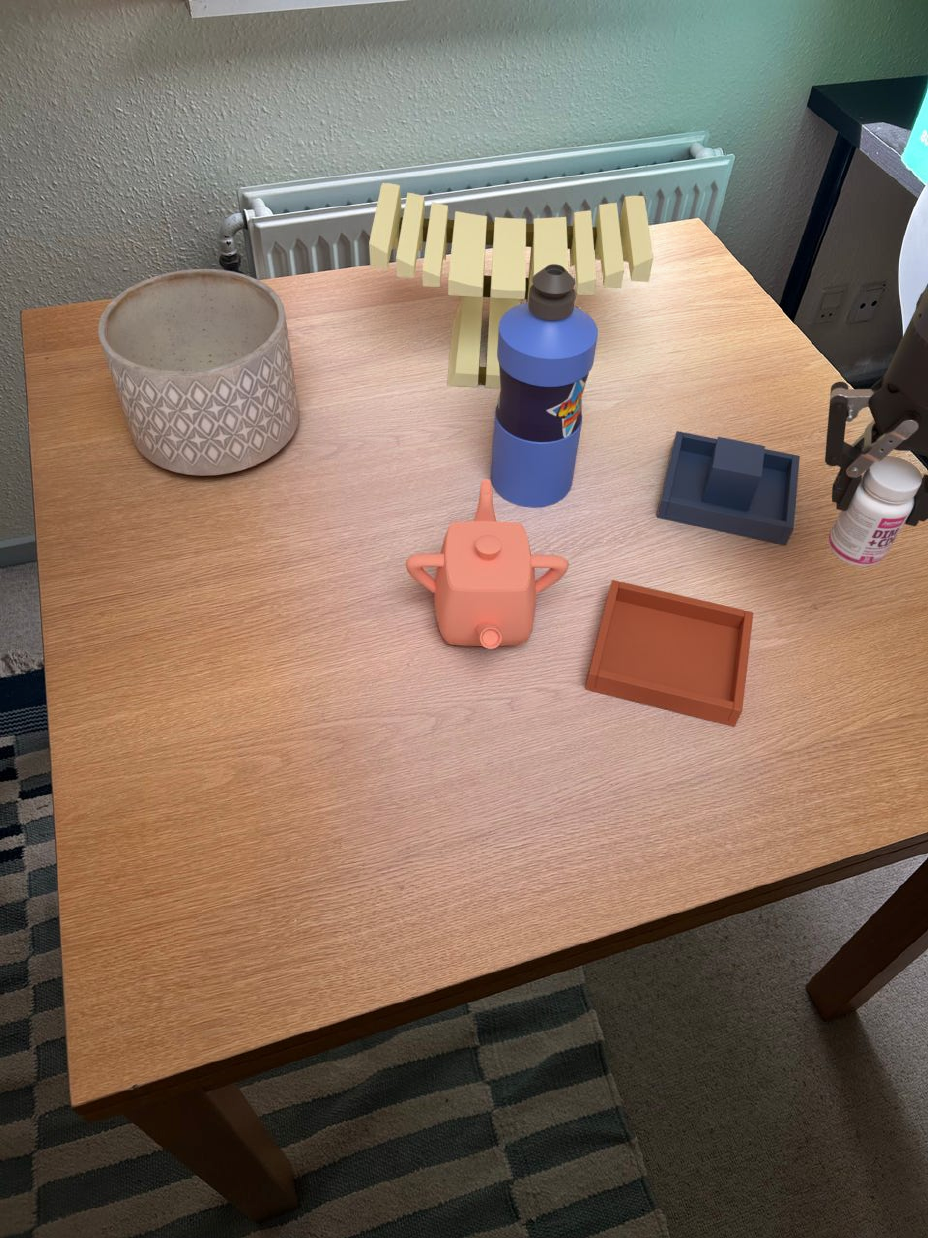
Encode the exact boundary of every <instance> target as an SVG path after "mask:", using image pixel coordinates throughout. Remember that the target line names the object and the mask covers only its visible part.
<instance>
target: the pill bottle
mask: <svg viewBox="0 0 928 1238" xmlns="http://www.w3.org/2000/svg"><path fill="white" fill-rule="evenodd" d="M922 478H923V475H922V473H921V471H920V469H918V467H916V466H915V465H914V464H913V463H911V462H910V461H908V460H907V459H904V458H902V457H898V456H893V455H887V456H886V457H885V458H884V459H883V460H881V461H880V462H877V461H876V462H875V463H874V464H873V465H871V466H870V467H869V468H868V469H867V470H866V471H865V472H864V473H863V474H862V480H861V482H860V484H859V486H858V488H857V490H856V492H855V494H854V496H853V498H852V500H851V502H850V504H849V506H848V508H847V510H846V511H841V510H840V511H839V514H838V516H837V518H836V520H835V521H834V523H833V524H832V526H831V529H830V530H829V534H828V538H827V543H828V547H829V549H830V550H831V551H832V553H833V554H834V555H835V556H836V557H837V558H838V559H840V560H841V561H842V562H844V563H846V564H849V565H851V566H855V567H863V568H864V567H865V568H866V567H871V566H874V565H877V564H879V563H881V562H882V561H883V560H884V558H885V557H886V555H887V554H888V552H889V550H890V548H891V547H892V545H893V543H895V540H896V538H897V537H898V535H899V533H900V532H901V530H902V528H903V526H904V525H905V521H906V519H907V518H908V516H909V514H910V513H911V511H912V509H913V506H914V496H915V494H916V493H917V491H918V489H919V487H920V485H921V483H922Z"/></svg>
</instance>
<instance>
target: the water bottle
mask: <svg viewBox="0 0 928 1238" xmlns="http://www.w3.org/2000/svg"><path fill="white" fill-rule="evenodd" d="M532 283H533V285H532V286H531V287H530V290H529V301H528V302H523V303H520V304H519V305H517V306H515V307H513V308H511V309H510V310H508V311H507V312H506V313H505V314H504V315H503V316H502V318H501V320H500V322H499V331H498V347H497V358H498V362H499V372H500V387H501V388H499V389H500V390H499V394H498V399H497V402H496V405H495V409H494V417H493V419H494V420H493V432H492V446H491V460H490V461H491V464H490V475H489V478H490V479H489V480H490V481H491V484H492V489H493V491H495V492H496V493H497V494H498V496H500V498H502V499H503V500H505V501H507V502H509V503H511V504H513V505H516V506H521V507H525V508H543V507H549V506H552V505H555V504H557V503H558V502H560V501H562V500H563V499H564V498H566V497H567V496H568V494H569V493H570V491H571V490H572V486H573V480H574V475H575V469H576V462H577V455H578V450H579V445H580V444H579V443H580V437H581V430H582V424H583V403H582V402H583V399H582V397H583V393H584V391H585V388H586V384H587V381H588V377H589V374H590V371H591V370H592V368H593V366H594V361H595V357H596V349H597V343H598V337H599V329H598V326H597V323H596V321H595V320H594V319H593V318H592V317H591V316H590V315H589V314H588V313H587V312H585V311H584V310H582V309H581V308H579V307H576V306H575V302H576V295H577V292H576V289H575V287H576V278H574V277H573V276H572V275H571V273H570V272H569V273H568V272H567V270H566V269H565V268H564V267H562V266H560V265H557V264H552V265H548V266H547V267H545V268H544V269H542V270H541V271H539V272H538V273H536V274H535V275H534V276H533V278H532Z"/></svg>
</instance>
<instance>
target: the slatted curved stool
mask: <svg viewBox="0 0 928 1238" xmlns="http://www.w3.org/2000/svg"><path fill="white" fill-rule="evenodd" d="M645 199H646V198H645V196H644V195H628V196H625V197H624V199H623V202H622V207H621V211H620V217H619V212H618V211H619V209H618V203H617V202H611V203H603V204H598V208H597V213H596V220H595V225H594V226H593V220H592V218H593V217H592V210H591V209H589V210H582V211H574V213H573V217H572V223H571V225H568V224H567V216H557V217H539V218H537V217H536V218H533V223H527V219H526V218H516V217H515V218H513V217H497V216H495V217H494V221H488V216H487V215H482V214H476V213H469V212H463V211H458V210H456V211H454V212H455V213H454V219H449V205H446V204H441V203H437V202H433V201H432V202H431V206H430V213H429V218H426V204H425V203H426V201H425V196H424V195H421V194H417V193H413V192H409V191H408V192H407V193H406V198H405V205H404V210H403V215H402V192H401V185H400V184H396V183H392V182H391V183H390V182H382V183H381V185H380V190H379V193H378V199H377V203H376V208H375V214H374V218H373V223H372V228H371V233H370V237H369V242H368V244H369V245H368V249H369V262H370V263H369V266H370V269H389V265H390V259H391V254H392V250H396V257H395V263H396V264H395V265H396V266H395V267H396V278H408V279H409V278H410V279H414V278H415V274H416V267H417V261H418V256H419V252H420V251H421V252H422V251H423V247H424V243H425V249H424V257H423V263H422V264H423V265H422V287H433V288H441V280H442V274H443V273H442V272H443V271H442V270H443V264H444V261H446V260H447V251H448V244H451V250H450V251H451V252H450V260H449V270H448V284H447V286H448V287H447V295H448V296H458V297H459V296H460V297H461V300H460V303H459V306H458V309H457V311H456V314H455V316H454V317H453V318H454V319H453V321H452V326H451V336H450V346H449V356H448V357H449V358H448V368H447V380H446V386H447V387H462V388H463V387H464V388H478V387H479V385H485V388H486V389H501V387H500V372H499V362H498V358H497V347H498V331H499V322H500V320H501V318H502V316H503V315H504V314H505V313H506V312H507V311H508V310H510V309H511V308H513V307H515V306H517V305H519V304H521V300H526V302H528V301H529V290H530V287H531V286H532V285H533V283H532V278H533V276H534V275H535V274H536V273H538V272H539V271H541V270H542V269H544V268H545V267H547V266H548V265H552V264H557V265H560V266H562V267H564V268H565V269H566V270H567V272H568V273H569V274H570V271H569V270H570V269H569V266H570V268H572V267H573V266H574V272H575V273H574V275H575V288H576V289H575V292H576V295H587V296H594V295H595V289H596V284H597V270H596V269H597V268H596V260H597V261H600V266H601V275H602V284H603V286H602V287H603V288H605V289H622V286H623V285H622V284H623V280H624V274H625V264H624V262H626V263H628V270H629V276H630V277H629V278H630V281H631V282H638V283H639V282H640V283H649V282H650V276H651V272H652V266H653V261H654V252H653V246H652V239H651V238H652V237H651V233H650V226H649V220H648V213H647V206H646V200H645ZM402 216H403V217H402ZM487 246H492V258H491V259H492V260H491V275H485V268H486V267H485V264H486V247H487ZM527 248H530V255H529V266H528V277H527V276H526V269H527V268H526V267H527V266H526V265H527V263H526V261H527V259H526V257H527ZM568 250H569V251H568ZM484 298H489V311H488V312H489V313H488V333H487V349H486V350H487V351H486V366H480V356H481V341H482V340H481V339H482V322H483V306H484V305H483V304H484ZM526 302H525V303H526Z"/></svg>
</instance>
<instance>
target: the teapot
mask: <svg viewBox="0 0 928 1238" xmlns="http://www.w3.org/2000/svg"><path fill="white" fill-rule="evenodd" d="M493 491H494V489H493V486H492V484H491V479H489V478H484V479H483V480H482V482H481V483H480V485H479V497H478V505H477V508H476V512H475V515H474V518H473V520H470V521H467V520H465V521H454V522H452V523H450V524H449V526H448V528H447V531H446V533H445V535H444V538H443V541H442V545H441V549H440V553H434V552H433V553H432V552H431V553H430V552H429V553H428V552H427V553H425V552H424V553H416V554H413V555H412V554H411V555H410V556H409V557H408V558H407V559H406V561H405V569H406V571H407V572H408V574H409V575H410V577H412V578H413V580H415V581H416V582H417V583H418V584H420V585H422V586H423V587H424V588H425V589H427V590H428V591H430V592H432V593H433V594H434V609H435V615H436V616H435V617H436V620H437V625H438V627H439V628H438V629H439V631H440V634H441V636H442V638H443V639H444V641H445V642H446V643H447V644H449V645H456V646H473V647H475V646H476V647H483V648H485V649H487V650H488V649H489V650H493V649H496V648H497V647H502V646H504V647H505V646H507V647H508V646H518V645H522V644H525V642H526V641H527V640H528V639H529V637H530V636H531V633H532V631H533V628H534V623H535V617H536V615H535V614H536V604H537V594H540V593H542V592H544V591H545V590H546V589H548V588H549V587H551V586H553V585H554V584H555V583H557V582H559V580H561V579H562V578H563V577H564V576H565V575H566V574H567V572H568V569H569V561H568V560H567V559H566V558H564V557H563V556H560V555H558V554H557V555H556V554H532V552H531V551H532V550H531V546H530V542H529V538H528V534H527V531H526V528H525V527H524V525H523V524H522V523H520V522H512V521H497V517H496V513H495V508H494V507H495V506H494V496H493ZM428 567H429V568H430V567H431V568H432V567H433V568H434V567H436V571H435V578H434V577H432V576H431V575H430V574H428V572H427V571H426V570H425V569H424V568H428ZM535 568H536V569H538V568H539V569H540V568H541V569H542V568H543V569H548V571H546V572H545V573H544V574H543V575H541V577H539V578H538V579H536V573H535Z"/></svg>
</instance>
